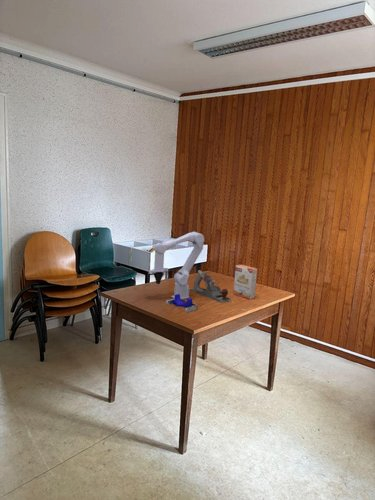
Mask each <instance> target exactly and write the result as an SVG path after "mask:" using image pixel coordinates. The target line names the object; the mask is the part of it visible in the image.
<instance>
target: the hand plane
mask: <svg viewBox="0 0 375 500" xmlns="http://www.w3.org/2000/svg"><path fill="white" fill-rule="evenodd" d="M197 273H198V274H197V276H196V277H195V278H194V281H193V288H189V292H192V293H196V294H199V295H201V296H203V297H205V298H207V299H208V298H209V299H211V300H212V301H213V300H214V301H216V302H219V303H221V304H222V303H230V302H231V301H232V299H231V298H230V297H229V296H228V293H229V291H228V289H227V288H225V287H224V288H223V289H222V288H221V287H220V286H218V285H215V283H216V280H215V279H213V280H212V277H211V276H210V275H209V273H208V272H203V271H202V270H200V269H199V270H197ZM201 281H203V283H204V284H205V286H206V288H204V287H200V286H201V285H200V283H201Z"/></svg>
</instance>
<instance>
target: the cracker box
mask: <svg viewBox="0 0 375 500" xmlns="http://www.w3.org/2000/svg"><path fill="white" fill-rule="evenodd" d="M257 276H258V268H256V267H252V266H249V265H245V264H236V265H235V272H234V282H233V284H234V285H233V295H234V296H238V297H241V298H243V299H246V300H253V299H255V297H256V288H257V278H258V277H257Z"/></svg>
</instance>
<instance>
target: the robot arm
mask: <svg viewBox="0 0 375 500" xmlns="http://www.w3.org/2000/svg"><path fill="white" fill-rule="evenodd" d="M184 242H191V243H192V246H193V248H192V250H191V252H190V254H189V256H188V257H187V259H186V261H185V263H184V264H183V266H182V267H181V269H179V270H178V271H177V272H176V273H174V276H173V281H175V282H174V291H173V295H171V296H170V297H171V298H172V299H175V294H180V298H181V299H184V300H186V299H189V298H190V285H189V284H188V282H189V277H190V272H191V271H192V268H193V267H194V265H195V263H196V261H197V260H198V258H199V256H200V255H201V253H202V251H203V249H204V242H205V236H204V234H202V233H201V232H200V233H199V232H196V231H192V232H188V233H185V234H184V235H182V236H179V237H177V238H175V239H174V238H168V239H166V240H165V241H161V243H160V242H158V243H156V244H155V245H154V247H153V250H154V263H153V265H154V267H153V269H151V270H150V269H149V270H148V275H149V274H150V275H152V274H153V275H152V276H154V279H155V284H156V285H161V283H162V282H161V281H162V279H163V277H164V275H165V272H169V268H168V267H164V265H165V263H164V262H165V253H166V251H168V250H172V249H173V248H174V249H175V248H176V246H177V245H178V244H182V243H184Z"/></svg>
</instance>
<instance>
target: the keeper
mask: <svg viewBox="0 0 375 500" xmlns="http://www.w3.org/2000/svg"><path fill="white" fill-rule="evenodd" d="M174 299H175V298H171V299H166V302H165V304H167V306H168V304H169V305H173V300H174ZM181 300H182V302H183V303H186V302H187V299H181ZM198 309H199V304H197V303H195V302H192V306H191V307H187V308H185V311H184V312H185V313H190V312H193V311H197V310H198Z"/></svg>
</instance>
